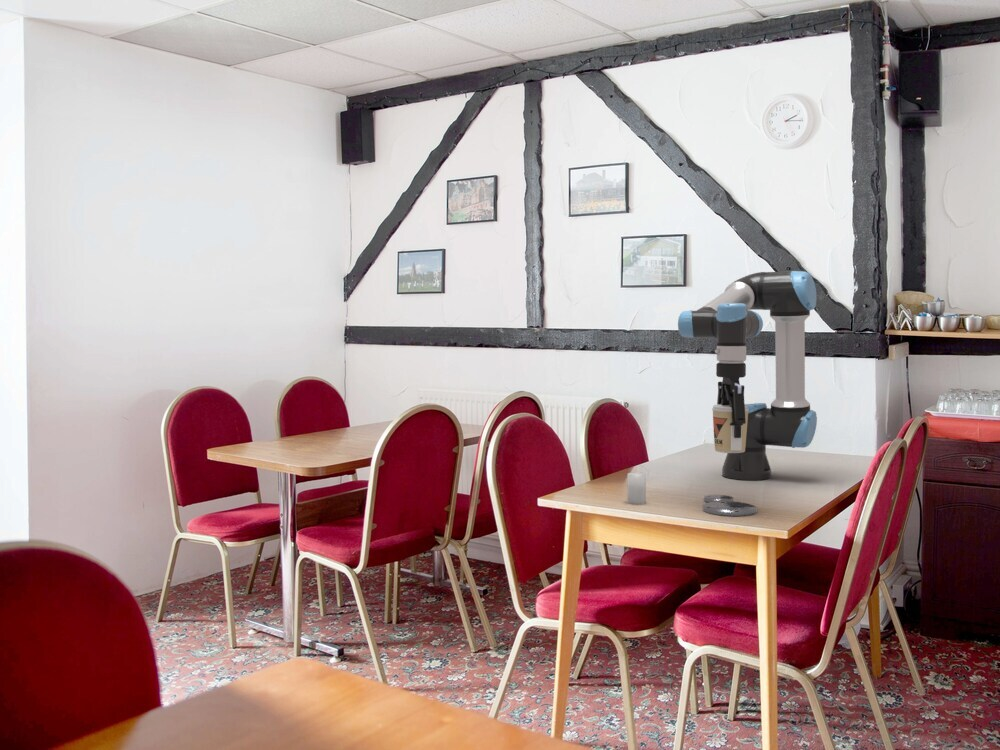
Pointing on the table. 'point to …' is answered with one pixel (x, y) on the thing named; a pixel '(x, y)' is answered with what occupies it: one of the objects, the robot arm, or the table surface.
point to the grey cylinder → (636, 488)
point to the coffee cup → (726, 428)
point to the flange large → (729, 508)
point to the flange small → (717, 498)
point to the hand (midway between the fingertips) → (730, 447)
